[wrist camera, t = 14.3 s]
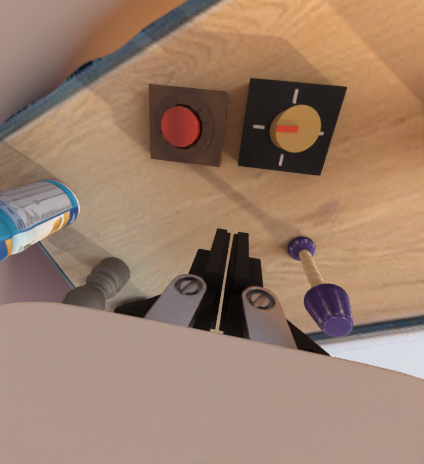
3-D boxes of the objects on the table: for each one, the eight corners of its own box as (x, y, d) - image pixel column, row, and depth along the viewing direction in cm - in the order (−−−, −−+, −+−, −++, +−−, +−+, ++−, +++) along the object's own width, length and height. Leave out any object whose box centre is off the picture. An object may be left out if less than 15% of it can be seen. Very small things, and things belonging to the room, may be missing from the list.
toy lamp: (282, 258, 38) (309, 342, 23) (286, 233, 36) (318, 307, 21) (312, 259, 37) (360, 347, 22) (317, 234, 35) (373, 311, 20)
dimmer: (338, 90, 27) (348, 86, 25) (314, 172, 31) (320, 176, 29) (249, 82, 28) (250, 77, 25) (238, 163, 32) (237, 166, 30)
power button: (201, 109, 27) (198, 107, 25) (199, 147, 28) (196, 149, 27) (166, 105, 27) (160, 104, 25) (166, 144, 29) (160, 145, 27)
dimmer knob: (310, 110, 26) (327, 105, 21) (302, 149, 28) (316, 153, 23) (272, 109, 27) (280, 103, 21) (267, 147, 28) (272, 151, 23)
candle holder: (119, 253, 41) (-26, 398, 19) (135, 279, 44) (22, 437, 21) (94, 262, 43) (-69, 405, 21) (111, 286, 45) (-20, 440, 23)
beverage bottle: (78, 181, 36) (-82, 231, 18) (85, 227, 40) (-43, 306, 22) (31, 174, 37) (-170, 215, 19) (42, 220, 41) (-119, 291, 22)
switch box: (228, 94, 29) (226, 88, 25) (220, 165, 32) (218, 169, 29) (154, 86, 29) (142, 80, 26) (155, 157, 33) (144, 160, 30)
